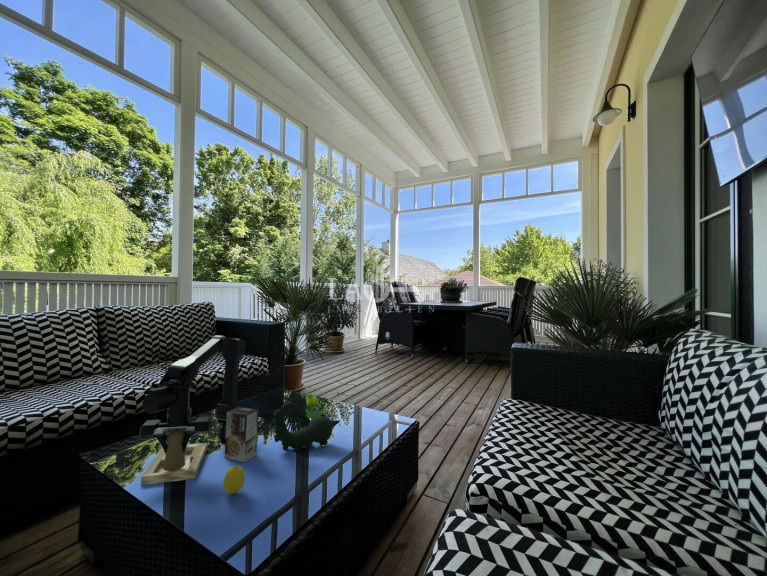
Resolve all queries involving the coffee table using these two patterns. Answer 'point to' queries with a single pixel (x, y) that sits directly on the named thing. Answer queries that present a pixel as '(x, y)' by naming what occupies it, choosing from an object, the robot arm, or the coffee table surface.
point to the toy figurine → (302, 430)
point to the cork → (174, 450)
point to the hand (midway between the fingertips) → (175, 452)
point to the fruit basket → (314, 407)
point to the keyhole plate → (188, 471)
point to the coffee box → (241, 434)
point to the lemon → (234, 479)
